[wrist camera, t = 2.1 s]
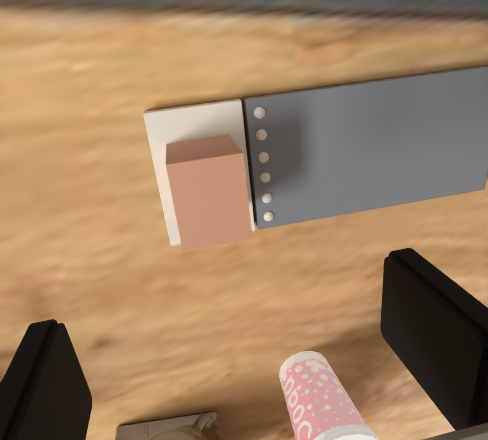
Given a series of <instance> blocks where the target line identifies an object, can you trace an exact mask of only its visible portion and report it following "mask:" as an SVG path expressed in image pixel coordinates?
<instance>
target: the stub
mask: <svg viewBox="0 0 488 440" xmlns="http://www.w3.org/2000/svg"><path fill="white" fill-rule="evenodd" d="M143 116H144V121H145V125H146V130H147V135H148V140H149V144H150V149H151V154H152V159H153V163H154V168H155V173H156V178H157V182H158V187H159V192H160V197H161V201H162V206H163V211H164V216H165V220H166V225H167V230H168V235H169V239H170V244H171V246H172V245H177V244H181V245H182V250H183V251H186V250H192V249H197V248H203V247H209V246H214V245H220V244H225V243H231V242H236V241H242V240H247V239H253V238H252V231H255V227H254V217H253V208H252V199H251V189H250V180H249V170H248V161H247V151H246V142H245V132H244V123H243V113H242V104H241V100H240V99H233V100H226V101H218V102H211V103H203V104H196V105H188V106H181V107H174V108H166V109H159V110H151V111H144V113H143Z"/></svg>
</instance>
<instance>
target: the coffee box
mask: <svg viewBox="0 0 488 440" xmlns="http://www.w3.org/2000/svg"><path fill="white" fill-rule="evenodd" d="M115 440H221V434H220V427H219V420H218V414H217V412H210V413H203V414H197V415H191V416H184V417H177V418H171V419H165V420H158V421H151V422H145V423H138V424H132V425H125V426H119V427H117V429H116V437H115Z"/></svg>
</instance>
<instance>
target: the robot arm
mask: <svg viewBox="0 0 488 440" xmlns="http://www.w3.org/2000/svg"><path fill="white" fill-rule="evenodd" d="M381 333H382V335H383V337H384V339H385V340H386V342H387V343H388V344H389V346H390V347H391V348H392V349H393V351H394V352H395V353H396V355H397V356H398V357H399V358H400V360H401V361H402V362H403V364H404V365H405V366H406V367H407V369H408V370H409V371H410V373H411V374H412V375H413V376H414V378H415V379H416V380H417V382H418V383H419V384H420V385H421V387H422V388H423V389H424V391H425V392H426V393H427V395H428V396H429V397H430V398H431V400H432V401H433V402H434V404H435V405H436V406H437V407H438V409H439V410H440V411H441V413H442V414H443V415H444V416H445V418H446V419H447V420H448V422H449V423H450V424H451V425H452V427H453V428H454V429H455V430H456V431H453V432H449V433H445V434H442V435H438V436H434V437H431V438H427V439H423V440H488V308H487V307H486V306H485V305H483V304H482V303H481V302H480V301H478V300H477V299H476V298H474V297H473V296H472V295H471V294H469V293H468V292H467V291H465V290H464V289H463V288H462V287H460V286H459V285H458V284H457V283H455V282H454V281H453V280H451V279H450V278H449V277H448V276H446V275H445V274H444V273H442V272H441V271H440V270H439V269H437V268H436V267H435V266H434V265H432V264H431V263H430V262H428V261H427V260H426V259H425V258H423V257H422V256H421V255H419V254H418V253H417V252H416V251H414V250H413V249H411V248H406V249H401V250H396V251H392V252H390V254H389V257H386V258H385V260H384V273H383V291H382V309H381ZM91 409H92V396H91V392H90V390H89V387H88V384H87V382H86V379H85V377H84V374H83V371H82V369H81V366H80V363H79V361H78V358H77V356H76V353H75V350H74V348H73V345H72V342H71V340H70V337H69V335H68V332H67V329H66V327H65V325H64V324H63V323H59V324H58V323H57V321H56V320H54V319H52V320H47V321H42V322H37V323H32V324H30V325H29V327H28V329H27V331H26V333H25V335H24V337H23V339H22V341H21V343H20V345H19V347H18V349H17V351H16V353H15V355H14V357H13V359H12V362H11V364H10V366H9V368H8V370H7V372H6V374H5V376H4V378H3V380H2V381H1V382H0V440H85V439H86V434H87V429H88V424H89V419H90V414H91Z"/></svg>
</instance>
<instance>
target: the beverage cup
mask: <svg viewBox="0 0 488 440" xmlns="http://www.w3.org/2000/svg"><path fill="white" fill-rule="evenodd" d="M279 377H280V381H281V385H282V389H283V393H284V396H285V400H286V404H287V408H288V411H289V415H290V419H291V423H292V426H293V430H294V434H295V438H296V440H379V439H378V438H377V436H376V434H375V433H374V432H373V431H372V430H371V429H369V428H368V427H367V425H366V423H365V422H364V420H363V418H362V417H361V415H360V414H359V412H358V410H357V409H356V407H355V406H354V404H353V402H352V401H351V399H350V397H349V396H348V394H347V393H346V391H345V389H344V388H343V386H342V385H341V383H340V381H339V380H338V378H337V376H336V375H335V373H334V372H333V370H332V368H331V367H330V365H329V364H328V362H327V360H326V359H325V357H323V356H322V355H321V354H320V353H318V352H314V351H302V352H299V353H297V354H294V355H292V356H291V357H290V358H288V359H287V360H286V361H285V362H284V364H283V365H282V367H281V368H280V374H279Z"/></svg>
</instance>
